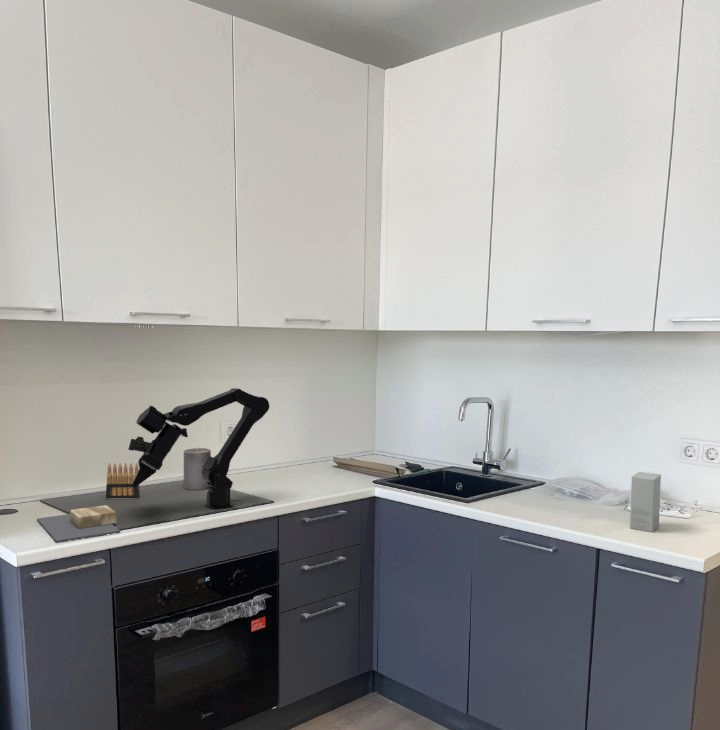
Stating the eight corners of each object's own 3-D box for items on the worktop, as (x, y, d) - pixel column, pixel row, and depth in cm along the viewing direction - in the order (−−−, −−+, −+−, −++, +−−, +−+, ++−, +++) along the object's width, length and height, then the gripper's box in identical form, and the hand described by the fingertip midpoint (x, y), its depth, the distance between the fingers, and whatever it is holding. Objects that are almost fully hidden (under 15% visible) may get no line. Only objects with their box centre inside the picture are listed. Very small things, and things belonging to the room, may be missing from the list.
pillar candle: (203, 483, 235) (202, 443, 234) (215, 487, 227) (215, 446, 227) (178, 487, 228) (178, 446, 228) (191, 491, 221) (190, 449, 220)
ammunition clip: (105, 499, 208) (105, 463, 208) (107, 498, 210) (107, 462, 210) (138, 498, 209) (138, 463, 209) (139, 497, 211) (140, 462, 211)
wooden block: (106, 505, 185) (70, 509, 179) (116, 512, 177) (78, 517, 171) (106, 515, 185) (70, 520, 179) (116, 523, 177) (78, 528, 171)
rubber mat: (94, 512, 191) (94, 510, 191) (120, 532, 170) (120, 530, 170) (36, 520, 181) (36, 518, 181) (56, 543, 161) (56, 540, 161)
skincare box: (637, 522, 187) (638, 471, 187) (661, 527, 183) (662, 474, 183) (629, 528, 181) (630, 475, 180) (653, 533, 177) (654, 478, 176)
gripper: (140, 429, 197) (109, 472, 192) (142, 425, 180) (109, 471, 175) (170, 448, 200) (141, 491, 194) (175, 445, 182) (143, 492, 177)
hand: (133, 486), depth 185 cm, fingers closed
